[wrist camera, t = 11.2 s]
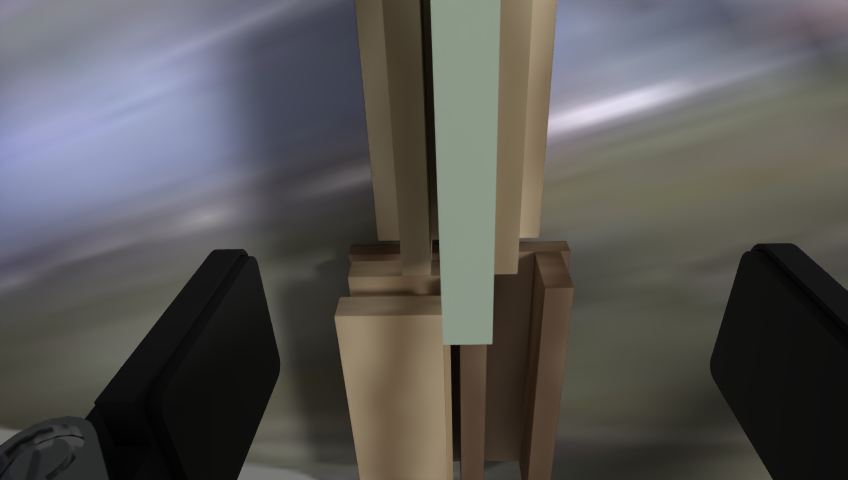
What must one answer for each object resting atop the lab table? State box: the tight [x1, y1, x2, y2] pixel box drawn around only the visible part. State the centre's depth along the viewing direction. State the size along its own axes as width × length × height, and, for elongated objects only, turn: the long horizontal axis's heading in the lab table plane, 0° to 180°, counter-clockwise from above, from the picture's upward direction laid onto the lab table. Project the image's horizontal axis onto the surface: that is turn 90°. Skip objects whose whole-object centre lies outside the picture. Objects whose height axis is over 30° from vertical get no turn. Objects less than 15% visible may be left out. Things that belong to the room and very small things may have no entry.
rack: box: [334, 241, 574, 480], centre depth 36 cm, size 14×20×7 cm
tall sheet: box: [430, 0, 501, 345], centre depth 23 cm, size 2×16×12 cm, turn 2°
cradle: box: [355, 0, 557, 276], centre depth 27 cm, size 10×20×5 cm, turn 2°
